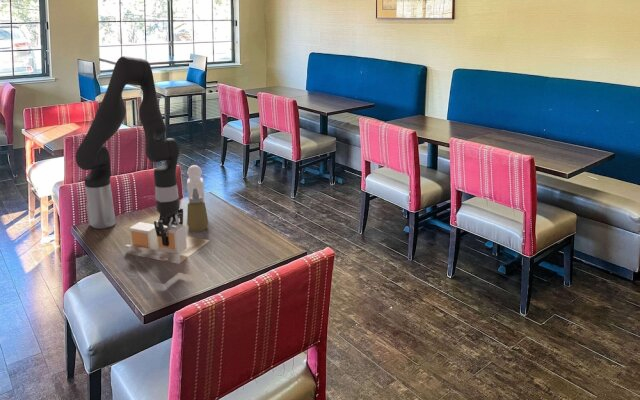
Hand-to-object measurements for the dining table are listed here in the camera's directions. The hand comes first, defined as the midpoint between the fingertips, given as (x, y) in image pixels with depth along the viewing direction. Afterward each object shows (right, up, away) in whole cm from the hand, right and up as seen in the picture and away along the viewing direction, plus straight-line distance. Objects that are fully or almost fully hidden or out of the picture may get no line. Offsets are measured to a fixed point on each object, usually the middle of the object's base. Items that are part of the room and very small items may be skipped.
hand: (171, 241), depth 190 cm
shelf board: (-3, -4, +8) cm, 10 cm away
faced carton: (-10, -3, +5) cm, 12 cm away
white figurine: (0, +8, +39) cm, 40 cm away
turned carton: (0, -3, +1) cm, 3 cm away
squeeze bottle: (+4, +2, +24) cm, 24 cm away
